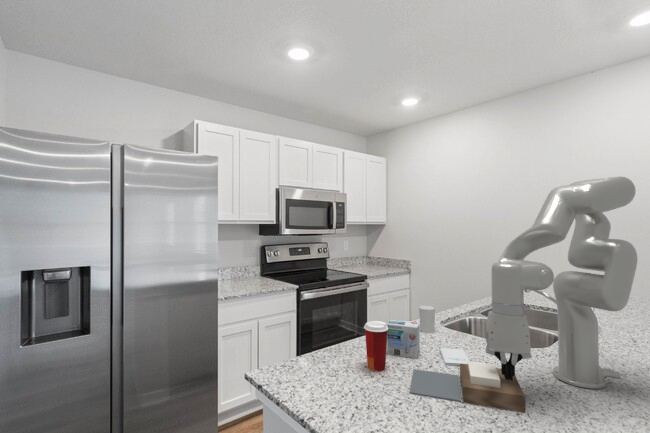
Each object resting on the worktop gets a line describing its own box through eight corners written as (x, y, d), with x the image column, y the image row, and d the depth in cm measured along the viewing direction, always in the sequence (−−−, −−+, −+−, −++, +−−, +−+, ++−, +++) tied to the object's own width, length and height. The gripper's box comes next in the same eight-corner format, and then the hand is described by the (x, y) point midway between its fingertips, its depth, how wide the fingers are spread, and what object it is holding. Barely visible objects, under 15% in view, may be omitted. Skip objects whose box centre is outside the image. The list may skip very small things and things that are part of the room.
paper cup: (391, 365, 107) (390, 322, 108) (385, 375, 100) (384, 328, 101) (368, 361, 111) (367, 319, 111) (360, 370, 104) (360, 325, 104)
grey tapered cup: (437, 333, 138) (437, 309, 138) (421, 333, 138) (421, 309, 138) (432, 328, 145) (432, 305, 145) (417, 328, 145) (417, 305, 145)
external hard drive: (463, 354, 118) (472, 369, 106) (439, 352, 120) (445, 367, 107) (463, 349, 118) (472, 363, 106) (439, 347, 120) (445, 361, 107)
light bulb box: (386, 354, 116) (386, 323, 117) (390, 348, 123) (390, 318, 123) (418, 359, 112) (417, 327, 113) (420, 352, 119) (419, 321, 119)
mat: (458, 376, 99) (458, 375, 99) (461, 402, 85) (461, 400, 85) (413, 370, 104) (413, 369, 104) (409, 393, 90) (409, 392, 90)
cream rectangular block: (494, 371, 94) (494, 364, 94) (500, 387, 84) (500, 380, 85) (467, 367, 96) (467, 360, 96) (470, 383, 87) (470, 375, 87)
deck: (512, 384, 95) (512, 370, 95) (525, 412, 80) (525, 396, 80) (460, 376, 99) (459, 363, 99) (463, 402, 85) (463, 386, 85)
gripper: (535, 307, 90) (536, 376, 89) (475, 303, 95) (476, 368, 94) (543, 315, 83) (544, 389, 82) (478, 309, 88) (479, 379, 87)
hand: (508, 377), depth 88 cm, fingers closed
